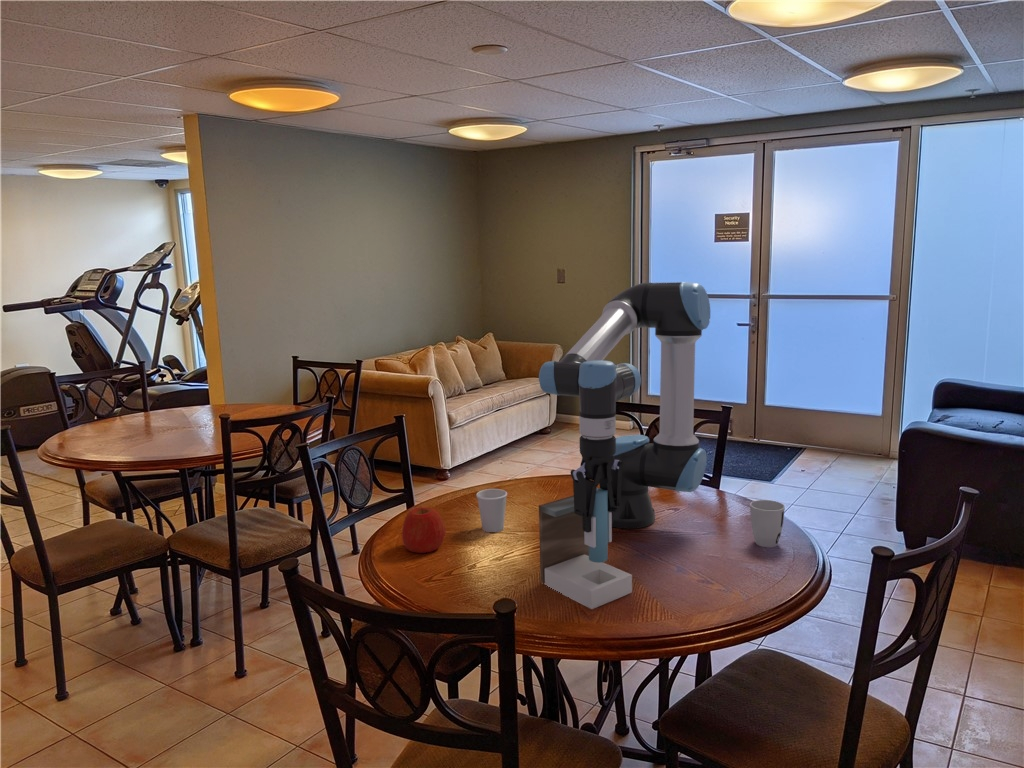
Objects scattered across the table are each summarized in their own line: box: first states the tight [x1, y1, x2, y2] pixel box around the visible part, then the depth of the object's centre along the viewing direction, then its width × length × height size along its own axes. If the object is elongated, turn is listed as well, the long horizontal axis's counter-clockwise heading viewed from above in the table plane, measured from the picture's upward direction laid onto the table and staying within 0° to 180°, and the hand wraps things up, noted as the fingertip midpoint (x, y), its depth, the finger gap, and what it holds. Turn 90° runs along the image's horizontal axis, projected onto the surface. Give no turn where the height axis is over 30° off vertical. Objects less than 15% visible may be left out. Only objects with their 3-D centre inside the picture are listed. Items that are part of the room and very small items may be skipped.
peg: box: [589, 487, 609, 563], centre depth 156 cm, size 4×4×15 cm
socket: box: [544, 554, 633, 610], centre depth 161 cm, size 15×12×4 cm
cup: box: [749, 499, 786, 548], centre depth 183 cm, size 8×8×10 cm
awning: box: [538, 494, 589, 585], centre depth 166 cm, size 6×14×18 cm, turn 128°
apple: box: [401, 506, 446, 554], centre depth 187 cm, size 11×11×11 cm
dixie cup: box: [475, 488, 508, 533], centre depth 199 cm, size 8×8×10 cm
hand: (598, 542), depth 157 cm, fingers closed on peg, 4 cm apart
